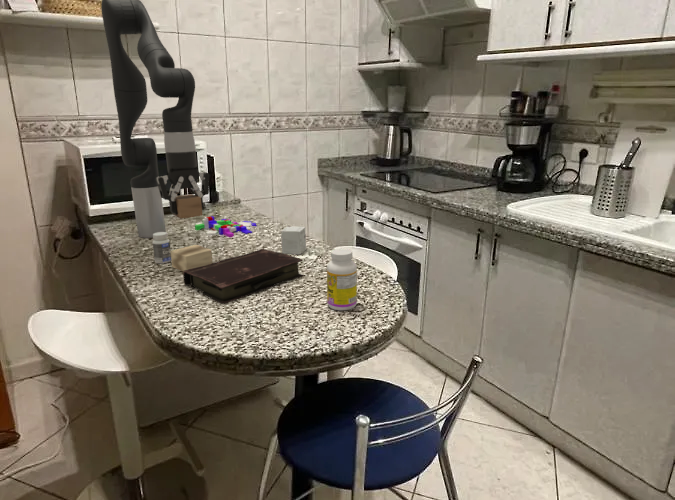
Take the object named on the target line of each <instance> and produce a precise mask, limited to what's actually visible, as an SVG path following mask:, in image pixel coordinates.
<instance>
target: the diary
mask: <svg viewBox="0 0 675 500" xmlns="http://www.w3.org/2000/svg"><path fill="white" fill-rule="evenodd" d="M303 261H304V260H303V259H302V258H298V257H296V256H292V255H290V254H284V253H282V252H278V251H274V250H268V249H266V248H261V249H257V250H255V251H252V252H248V253H245V254H241V255H238V256H232V257H229V258H225V259H222V260H219V261H215V262H213V263H212V264H208V265H205V266H201V267H196V268H192V269H188V270H184V271H182V274H183V275H182V277H183V283H184V286H189V285H191V286H190V288H192V287H194V288H195V289H197V290H198V291H200V294H202V295H204V296H205V297H207V298H209V299H211V300H212V301H213V300H214V301H215V302H217V303H219V304H222V303H225V304H226V303H230V302H233V301H237V300H239V299H242V298H245V297H247V296H250V295H253V294H256V293H259V292H261V291H263V290H266V289H269V288H272V287H276V286H277V285H279V284H281V283H285V282H288V281H292V280H295V279H298V278H301V277H303V276H305V275H304V274H301V273H299V263H301V262H303Z"/></svg>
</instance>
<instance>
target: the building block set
mask: <svg viewBox="0 0 675 500" xmlns="http://www.w3.org/2000/svg"><path fill="white" fill-rule="evenodd" d="M256 224H257V223H256V222H253V221H250V220H249V221H248V220H243V221H240V222H238V221H233V222H232V220H231V219H230V218H228V219H227V218H222V219H219V220H215V217H214V216H212V215H210V216H207V217H206V216H205V217H203V219H201V222H196V223H194V229H195V231H201V229H203V230H207V229H210V230H207V231H206V232H205V234H206V235H207V236H210V235H211V236H212V235H213V236H217V234H218V235H220V236H225V237H228V238H234V237H235V233H238V231H239V232H241V233H242V234H245V235H248V233H250V234H253V230H251V227H249V226H255V227H258V224H257V225H256ZM248 229H250V230H248ZM234 232H235V233H234ZM233 236H234V237H233Z"/></svg>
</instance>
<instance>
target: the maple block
mask: <svg viewBox="0 0 675 500" xmlns="http://www.w3.org/2000/svg"><path fill="white" fill-rule="evenodd" d="M170 252H171V267H172V268H174V269H175V270H178V271H180V272H183V271H184V270H188V269H192V268H196V267H201V266H205V265H208V264H212V263H214V262H213V253H212V249H210V248H207V247H205V246H204V247H203V246H201V245H198V244H192V245H190V246H189V245H188V246H185V247H181V248H177V249H172V250H171V251H170Z"/></svg>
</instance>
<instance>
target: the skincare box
mask: <svg viewBox="0 0 675 500" xmlns="http://www.w3.org/2000/svg"><path fill="white" fill-rule="evenodd" d="M280 232H281V233H280V238H281V253H283V254H286V255H301V254H302V253H304V251H306V250H307V240H306V239H307V236H306V234H307V233H306V226H295V225H294V226H293V225H288V226H286V227H284V228H283V229H281V231H280Z"/></svg>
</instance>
